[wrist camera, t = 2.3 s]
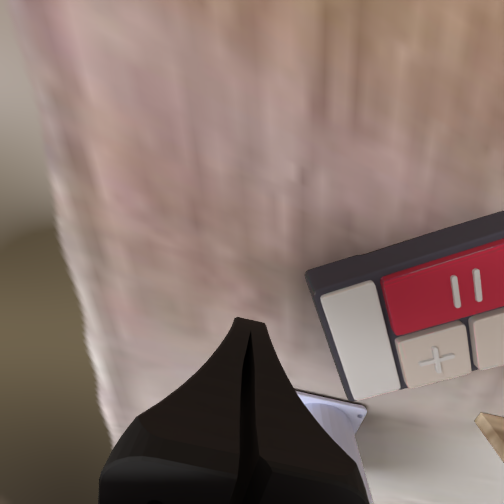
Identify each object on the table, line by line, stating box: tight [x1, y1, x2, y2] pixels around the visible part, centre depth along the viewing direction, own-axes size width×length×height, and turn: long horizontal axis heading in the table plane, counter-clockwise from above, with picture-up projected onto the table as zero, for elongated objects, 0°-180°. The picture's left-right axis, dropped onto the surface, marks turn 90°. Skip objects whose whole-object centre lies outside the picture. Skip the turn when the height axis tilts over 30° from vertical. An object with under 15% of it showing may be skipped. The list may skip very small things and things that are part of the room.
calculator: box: [305, 211, 504, 401], centre depth 22 cm, size 11×4×15 cm
